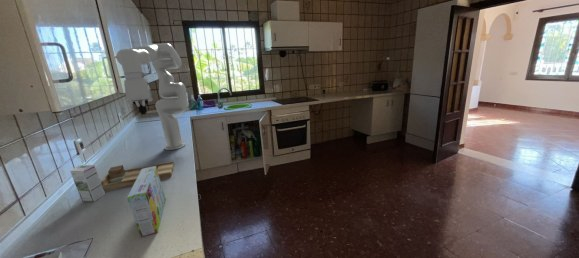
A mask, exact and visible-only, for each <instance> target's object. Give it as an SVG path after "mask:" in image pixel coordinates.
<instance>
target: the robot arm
mask: <svg viewBox="0 0 579 258" xmlns="http://www.w3.org/2000/svg"><path fill="white" fill-rule="evenodd" d="M116 61H117V62H118V63H119V65H121V67H122V71H123V76H124V79H125V80H124V82H123V83H124V85H123V86H124V91H125V96H126V100H127V104H130V105H135V106H136V107H137V108H138V111H139V114H141V116H142V115H146V114H147V113H148V109H147V104H148V103H151V102H152V101H154V98H153V94H152V90H151V88H150V85H149V82H148V79H147V78H145V77H147V73H146V72H143V70H142V69H143V68H142V66H146V65H149V64H150V63H151V64H152V66H153V69H154V71H155V72H156V74H157V76H158V84H159V85H158V93H159V97H161V98H162V99H158V100H157V101H156V103H155V105H154V106H155V109H156V111H157V114H158V116H159V120H160V123H161V124H160V125H161V128H162V132H163V136H164V139H165V144H166V145H164V147H163V148H164V150H166V151H173V150H179V149H182V148H183V147H186V142H185V141H183V139H182V134H181V130H180V129H181V128H180V125H179V120H178V118H177V117H176V116H175V115H174V114H182V113H185V112H186V111H187V109H188V106H187V105H188V103H187V102H188V101H187V99H188V98H187V97H188V95H187V94H188V93H187V87H186V85H185V84H184V83H183V82H175V78H174V76H173V75H172V74H171V73H170V72H169V71H168V70H177V69H180V68H181V67H182V59H181V57H180V55H179V53H178V52H177V50H176V49H175V48H174V47H173V45H172V44H170V43H152V44H148V45H142V46H137V47H132V48H123V49H119V50H118V51H117V53H116Z"/></svg>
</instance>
